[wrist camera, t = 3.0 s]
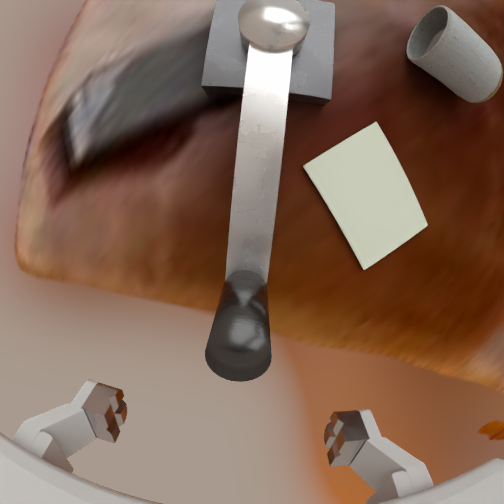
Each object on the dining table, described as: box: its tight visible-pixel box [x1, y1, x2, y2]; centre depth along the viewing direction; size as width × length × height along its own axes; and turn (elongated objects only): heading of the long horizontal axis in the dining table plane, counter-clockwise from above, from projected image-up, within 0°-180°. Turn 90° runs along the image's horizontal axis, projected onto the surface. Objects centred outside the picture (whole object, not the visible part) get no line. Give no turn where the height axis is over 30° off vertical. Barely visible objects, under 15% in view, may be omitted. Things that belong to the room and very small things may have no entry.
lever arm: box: [205, 0, 310, 381], centre depth 15 cm, size 24×5×10 cm, turn 174°
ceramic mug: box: [407, 5, 503, 103], centre depth 15 cm, size 11×8×8 cm
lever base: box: [201, 0, 335, 106], centre depth 19 cm, size 10×10×2 cm
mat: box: [303, 122, 428, 270], centre depth 23 cm, size 11×8×1 cm
